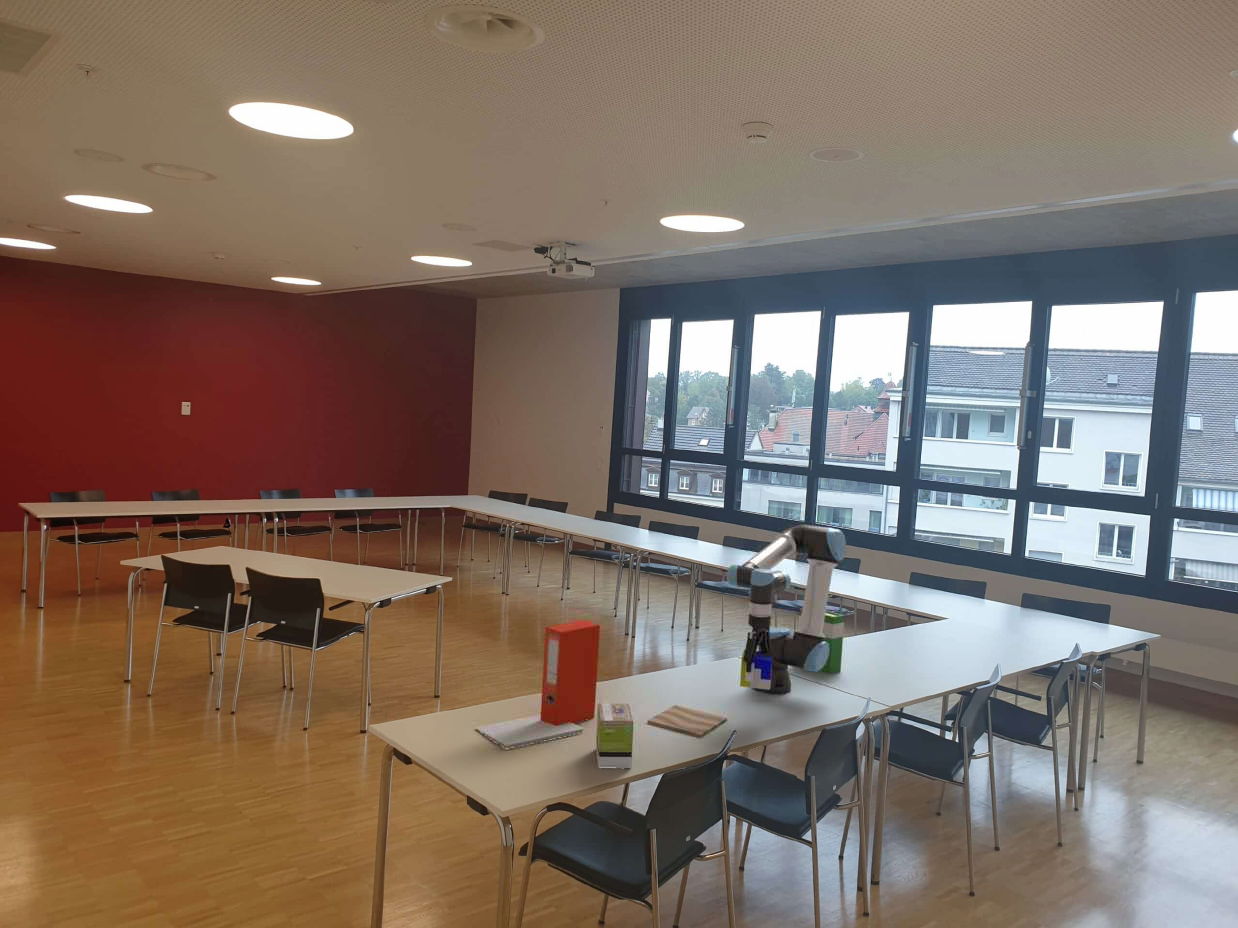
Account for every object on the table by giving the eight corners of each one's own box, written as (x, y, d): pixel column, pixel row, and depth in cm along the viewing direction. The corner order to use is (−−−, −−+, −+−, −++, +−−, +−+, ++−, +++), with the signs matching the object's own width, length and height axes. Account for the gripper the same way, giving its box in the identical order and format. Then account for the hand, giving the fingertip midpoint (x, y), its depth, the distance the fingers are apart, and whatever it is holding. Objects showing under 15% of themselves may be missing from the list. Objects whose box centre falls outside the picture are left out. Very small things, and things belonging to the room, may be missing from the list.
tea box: (594, 748, 270) (597, 701, 269) (627, 749, 270) (629, 702, 270) (597, 769, 255) (600, 719, 254) (632, 769, 255) (634, 719, 255)
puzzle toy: (769, 689, 296) (771, 660, 295) (740, 686, 298) (741, 657, 297) (771, 680, 306) (772, 652, 305) (742, 677, 308) (743, 649, 307)
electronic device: (505, 751, 265) (506, 745, 265) (474, 730, 281) (474, 724, 280) (583, 734, 282) (583, 728, 282) (550, 715, 298) (550, 709, 298)
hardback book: (795, 663, 376) (799, 608, 374) (806, 661, 381) (810, 606, 379) (829, 674, 363) (833, 617, 361) (840, 671, 367) (844, 615, 366)
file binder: (594, 718, 296) (599, 624, 294) (556, 729, 284) (561, 632, 282) (578, 711, 302) (583, 619, 300) (540, 722, 290) (545, 626, 288)
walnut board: (675, 707, 311) (675, 704, 311) (727, 720, 301) (727, 717, 301) (647, 722, 294) (647, 720, 294) (701, 737, 284) (701, 734, 284)
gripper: (763, 606, 312) (759, 666, 314) (735, 619, 292) (731, 683, 293) (783, 610, 308) (779, 670, 310) (756, 622, 288) (752, 687, 289)
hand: (756, 676), depth 302 cm, fingers closed on puzzle toy, 12 cm apart
